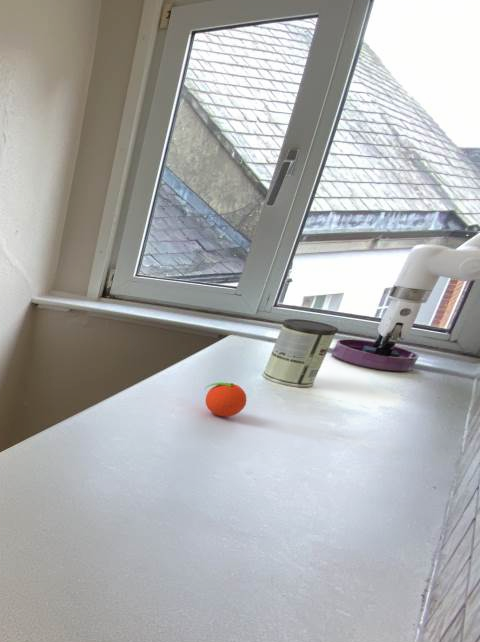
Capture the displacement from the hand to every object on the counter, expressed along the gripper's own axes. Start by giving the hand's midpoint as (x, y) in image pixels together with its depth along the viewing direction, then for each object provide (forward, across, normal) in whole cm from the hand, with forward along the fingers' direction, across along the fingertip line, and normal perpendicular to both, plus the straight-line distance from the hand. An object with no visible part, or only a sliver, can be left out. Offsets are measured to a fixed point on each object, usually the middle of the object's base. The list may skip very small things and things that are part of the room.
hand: (376, 359), depth 152 cm
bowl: (+1, 0, +1) cm, 1 cm away
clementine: (+1, -74, +34) cm, 81 cm away
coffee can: (+1, -36, +21) cm, 42 cm away
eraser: (0, 0, 0) cm, 0 cm away
